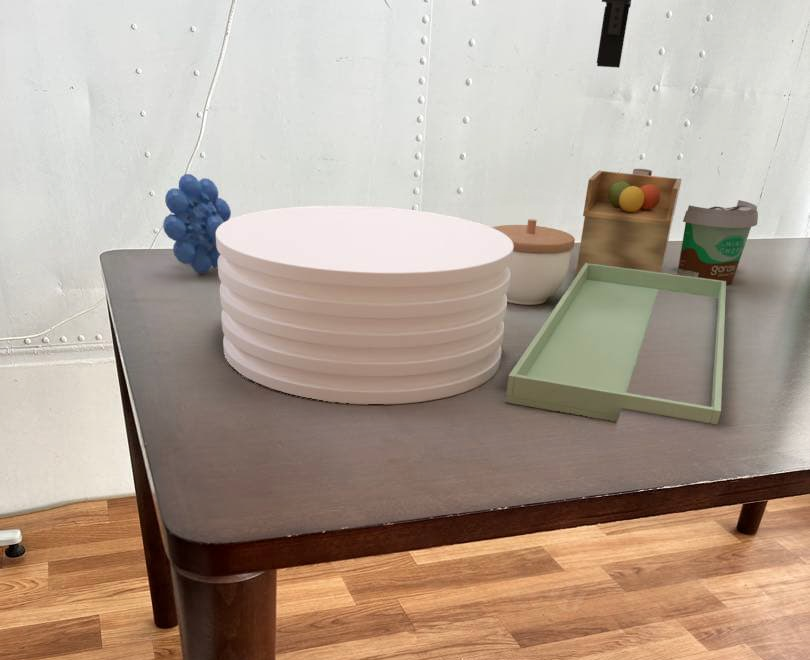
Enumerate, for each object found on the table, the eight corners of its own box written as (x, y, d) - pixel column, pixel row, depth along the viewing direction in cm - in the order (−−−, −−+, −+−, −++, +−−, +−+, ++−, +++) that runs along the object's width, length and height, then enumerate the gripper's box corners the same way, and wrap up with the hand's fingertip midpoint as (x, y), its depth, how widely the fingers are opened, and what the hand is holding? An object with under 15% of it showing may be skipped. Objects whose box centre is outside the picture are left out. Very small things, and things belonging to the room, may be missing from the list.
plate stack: (556, 378, 80) (575, 257, 73) (289, 425, 67) (285, 285, 61) (413, 300, 100) (419, 200, 94) (188, 325, 88) (177, 212, 81)
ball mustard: (642, 211, 109) (647, 185, 108) (640, 215, 107) (645, 189, 105) (618, 208, 110) (623, 183, 108) (615, 212, 108) (620, 186, 106)
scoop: (676, 206, 117) (684, 173, 115) (669, 226, 105) (677, 188, 102) (598, 198, 120) (604, 165, 118) (582, 216, 108) (588, 179, 105)
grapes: (198, 289, 99) (189, 183, 93) (156, 279, 102) (145, 175, 95) (258, 270, 108) (253, 172, 102) (218, 261, 111) (211, 165, 104)
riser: (660, 277, 116) (673, 217, 112) (657, 287, 111) (670, 225, 107) (581, 266, 119) (591, 208, 114) (575, 276, 114) (584, 215, 109)
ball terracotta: (657, 209, 111) (663, 184, 110) (656, 213, 109) (661, 187, 107) (634, 206, 112) (638, 181, 110) (631, 210, 110) (636, 184, 108)
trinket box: (517, 315, 97) (527, 232, 92) (463, 291, 104) (470, 213, 99) (582, 304, 102) (596, 225, 97) (526, 282, 109) (536, 208, 104)
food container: (706, 292, 110) (725, 214, 105) (669, 281, 114) (686, 205, 109) (759, 282, 116) (780, 207, 111) (722, 271, 120) (741, 199, 115)
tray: (721, 301, 107) (726, 281, 105) (713, 439, 69) (721, 411, 68) (582, 282, 111) (585, 262, 110) (504, 402, 74) (508, 375, 73)
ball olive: (631, 206, 112) (635, 181, 111) (628, 210, 110) (633, 184, 108) (607, 203, 113) (612, 178, 111) (604, 207, 110) (609, 182, 109)
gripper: (606, -129, 106) (579, 61, 117) (609, -169, 85) (576, 66, 96) (665, -127, 105) (632, 64, 116) (683, -168, 84) (641, 70, 95)
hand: (607, 65), depth 106 cm, fingers open, 13 cm apart
